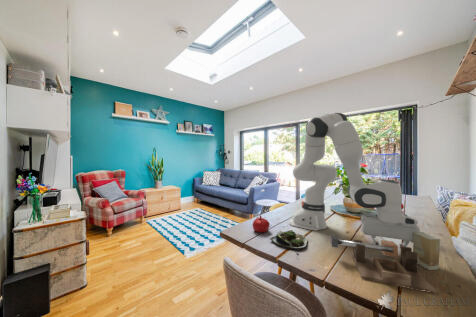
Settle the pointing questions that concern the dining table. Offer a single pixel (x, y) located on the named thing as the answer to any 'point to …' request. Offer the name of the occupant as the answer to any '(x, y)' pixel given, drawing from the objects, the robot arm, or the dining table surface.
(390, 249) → the shaft
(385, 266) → the bearing bracket
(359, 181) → the robot arm
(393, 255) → the block
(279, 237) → the salad plate
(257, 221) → the pomegranate
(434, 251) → the skincare box
